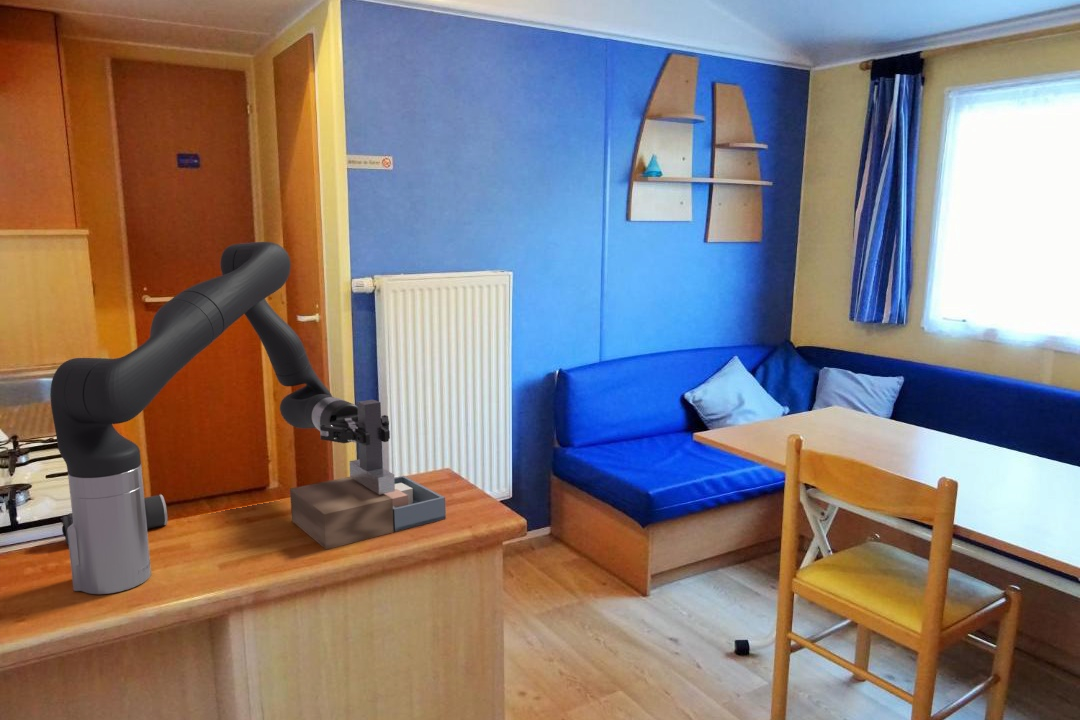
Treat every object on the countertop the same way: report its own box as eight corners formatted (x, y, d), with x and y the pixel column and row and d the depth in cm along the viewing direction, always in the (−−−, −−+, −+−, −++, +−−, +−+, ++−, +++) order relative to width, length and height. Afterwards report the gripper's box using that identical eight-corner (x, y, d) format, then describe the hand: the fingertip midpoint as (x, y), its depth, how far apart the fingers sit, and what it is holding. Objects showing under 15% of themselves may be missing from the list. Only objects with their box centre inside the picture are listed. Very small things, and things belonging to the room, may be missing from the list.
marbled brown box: (326, 549, 123) (324, 514, 122) (291, 520, 135) (290, 488, 134) (393, 532, 130) (392, 498, 129) (354, 506, 143) (353, 475, 142)
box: (395, 531, 130) (394, 509, 130) (356, 506, 143) (355, 485, 142) (445, 518, 136) (445, 497, 136) (404, 495, 149) (403, 475, 148)
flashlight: (66, 551, 123) (62, 519, 122) (62, 541, 127) (58, 510, 127) (168, 528, 133) (166, 499, 132) (161, 519, 137) (159, 491, 136)
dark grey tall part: (378, 494, 130) (375, 409, 127) (350, 477, 139) (346, 397, 137) (394, 491, 132) (392, 407, 129) (365, 473, 141) (362, 395, 139)
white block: (412, 488, 142) (413, 503, 142) (401, 482, 145) (401, 497, 146) (391, 493, 139) (392, 508, 140) (380, 487, 142) (381, 502, 143)
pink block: (392, 498, 132) (407, 495, 134) (381, 492, 135) (396, 488, 137) (393, 522, 133) (408, 518, 135) (382, 515, 136) (397, 511, 138)
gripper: (301, 404, 140) (338, 422, 127) (371, 395, 149) (413, 411, 135) (303, 444, 142) (340, 466, 128) (372, 432, 150) (414, 451, 136)
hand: (377, 437), depth 132 cm, fingers closed on dark grey tall part, 3 cm apart
